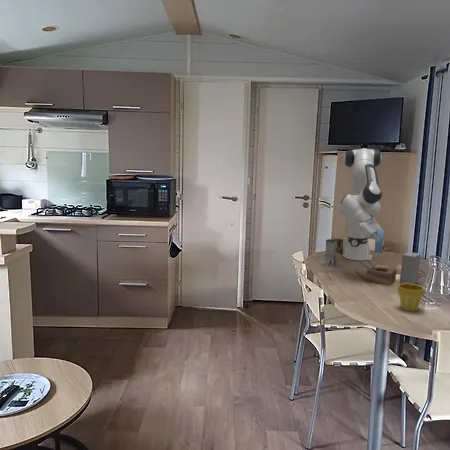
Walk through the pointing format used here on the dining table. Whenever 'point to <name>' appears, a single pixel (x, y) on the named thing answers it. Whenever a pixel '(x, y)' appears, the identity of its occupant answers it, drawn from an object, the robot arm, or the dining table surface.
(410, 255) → the skincare box
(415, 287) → the plant pot
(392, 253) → the dining table surface
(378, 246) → the pin
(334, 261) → the coffee box
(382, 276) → the socket block
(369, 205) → the robot arm
